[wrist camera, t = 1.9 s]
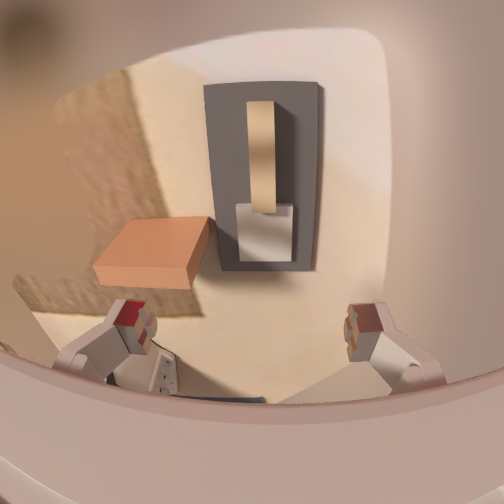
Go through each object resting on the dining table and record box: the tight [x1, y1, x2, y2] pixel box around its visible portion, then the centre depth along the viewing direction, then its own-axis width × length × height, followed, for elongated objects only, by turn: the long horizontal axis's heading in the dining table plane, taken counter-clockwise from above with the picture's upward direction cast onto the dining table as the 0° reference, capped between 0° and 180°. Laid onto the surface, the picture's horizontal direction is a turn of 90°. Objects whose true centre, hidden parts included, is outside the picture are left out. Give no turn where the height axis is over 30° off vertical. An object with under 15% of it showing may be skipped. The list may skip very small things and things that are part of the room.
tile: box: [93, 217, 210, 289], centre depth 30 cm, size 3×10×10 cm, turn 92°
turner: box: [236, 101, 293, 261], centre depth 29 cm, size 18×6×2 cm, turn 2°
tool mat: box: [203, 81, 318, 271], centre depth 30 cm, size 22×11×1 cm, turn 2°
